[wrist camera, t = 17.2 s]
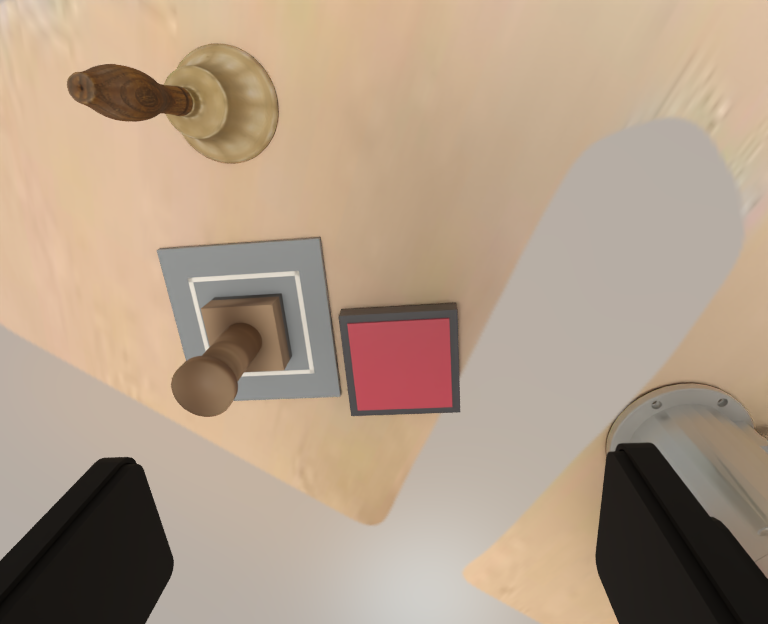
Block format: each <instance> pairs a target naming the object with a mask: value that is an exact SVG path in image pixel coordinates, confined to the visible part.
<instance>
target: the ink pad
mask: <svg viewBox="0 0 768 624" xmlns="http://www.w3.org/2000/svg"><path fill="white" fill-rule="evenodd" d="M339 324H340V331H341V339H342V347H343V355H344V363H345V371H346V378H347V386H348V394H349V402H350V410H351V416H366V415H395V414H423V413H452V412H460V391H459V390H460V387H459V351H458V314H457V306H456V303H445V304H427V305H409V306H391V307H373V308H355V309H341V311H340V314H339Z"/></svg>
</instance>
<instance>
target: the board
mask: <svg viewBox="0 0 768 624" xmlns="http://www.w3.org/2000/svg"><path fill="white" fill-rule="evenodd" d="M157 253H158V257H159V261H160V264H161V268H162V272H163V276H164V279H165V283H166V287H167V291H168V294H169V298H170V302H171V306H172V309H173V313H174V317H175V321H176V324H177V328H178V332H179V336H180V339H181V343H182V347H183V351H184V355H185V358H186V361H187V360H189V359H190V358H193V357H196V356H202V355H203V354H204V353H205V351H206V350H207V349H208V348H209V347H210V345H209V341H208V337H207V333H206V329H205V324H204V320H203V316H202V312H201V308H202V307H203V306H205V305H206V304H207V303H208V302H210V301H211V300H212V299H213V298H214V297H229V296H245V295H262V294H279V293H282V299H283V305H284V311H285V317H286V322H287V328H288V334H289V340H290V346H291V351H292V357H291V359H290V361H289V362H288V364H287V366H286V368H285V370H283V371H261V372H244V373H243V375H242V376H241V378H240V379H239V381H238V392H237V395H236V397H235V399H234V400H233V401H242V400H268V399H293V398H319V397H340V396H341V387H340V379H339V372H338V365H337V357H336V350H335V342H334V335H333V327H332V320H331V312H330V305H329V297H328V290H327V283H326V275H325V268H324V260H323V253H322V245H321V238H320V237H316V238H302V239H287V240H273V241H259V242H245V243H230V244H216V245H202V246H188V247H173V248H160V249H158V250H157Z"/></svg>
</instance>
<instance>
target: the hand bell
mask: <svg viewBox="0 0 768 624" xmlns="http://www.w3.org/2000/svg"><path fill="white" fill-rule="evenodd" d="M67 88H68V91H69V93H70V95H71V96H72V97H73V99H74V100H76V101H77V102H79V103H81V104H84V105H86V106H88V107H90V108H92V109H93V110H95V111H96V112H98V113H100V114H102V115H104V116H106V117H108V118H112V119H115V120H120V121H143V120H148V119H151V118H153V117H155V116H157V115H158V114H160V113H164V114H166V116H167V118H168V119H169V121H170V122H171V124H172V125H173V126H174V127H175V128H176V129H177V130H178V131H179V132H181V133H182V135H183V136H184V138H185V139H186V140H187V142H188V143H189V144H190V145H191V146H192V147H193V148H194V149H195V150H197V151H198V152H199V153H201V154H202V155H204V156H205V157H207V158H209V159H212V160H214V161H217V162H222V163H241V162H244V161H247V160H250V159H252V158H254V157H256V156H257V155H258V154H260V153H261V152H262V151H263V150H264V149H265V148H266V146H267V145H268V144H269V142H270V141H271V139H272V137H273V135H274V132H275V129H276V126H277V121H278V104H277V97H276V93H275V89H274V86H273V85H272V82H271V80H270V78H269V76H268V74H267V73H266V71H265V70H264V69H263V67H262V66H261V65H260V64H259V63H258V62H257V61H256V60H255V59H254V58H253V57H252V56H251V55H249V54H248V53H246V52H244V51H243V50H241V49H239V48H236V47H234V46H230V45H226V44H209V45H205V46H201V47H199V48H197V49H195V50H193V51H192V52H190V53H189V54H188V55H187V56H186V57H185V58H184V59H183V60H182V61H181V62H180V64H179V65H178V67H177V69H176V70H175V71H173V72H172V73H171V74H170V75H169V76H168V77H167V79H166V81H165V83H164V85H161V84H158V83H157V82H156V81H155V80H154V79H153V78H151V77H150V76H148V75H147V74H145V73H143V72H141V71H139V70H136V69H134V68H130V67H127V66H122V65H116V64H104V65H99V66H95V67H92V68H90V69H88V70H86V71H83V72H75V73H73V74H72V75H71V76H70V77H69V78H68V81H67Z"/></svg>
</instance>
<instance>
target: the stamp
mask: <svg viewBox="0 0 768 624" xmlns="http://www.w3.org/2000/svg"><path fill="white" fill-rule="evenodd" d="M201 312H202V316H203V320H204V324H205V329H206V333H207V337H208V341H209V345H210V347H209V348H208V349H207V350H206V351H205V353H204V354H203V355H202V356H196V357H193V358H190V359H189V360H187V361H186V362H185V363H184V364H183V365H182V366H181V367H180V368H179V369H178V370H177V371H176V372H175V374H174V375H173V378H172V383H171V387H172V392H173V395H174V397H175V399H176V400H177V402H178V403H179V404H180V405H181V406H182V407H183V408H184V409H186V410H187V411H189V412H191V413H193V414H195V415H199V416H204V417H211V416H216V415H219V414H221V413H223V412H224V411H226V410H227V409H228V407H229V406H230V405H231V403H232V402H233V400H234V399H235V397H236V395H237V392H238V381H239V379H240V378H241V376H242V375H243V373H244V372H261V371H283V370H285V368H286V366H287V364H288V362H289V361H290V359H291V357H292V351H291V346H290V340H289V334H288V328H287V322H286V317H285V311H284V305H283V299H282V293H279V294H262V295H245V296H229V297H214V298H213V299H212V300H211V301H210V302H208V303H207V304H206V305H205V306H203V307H202V308H201Z"/></svg>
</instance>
